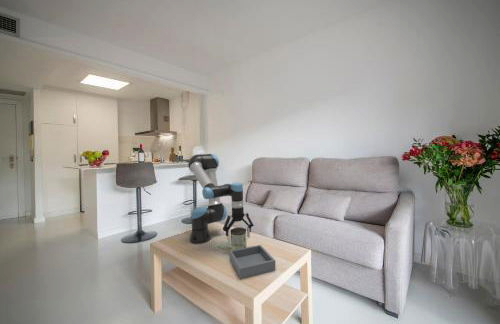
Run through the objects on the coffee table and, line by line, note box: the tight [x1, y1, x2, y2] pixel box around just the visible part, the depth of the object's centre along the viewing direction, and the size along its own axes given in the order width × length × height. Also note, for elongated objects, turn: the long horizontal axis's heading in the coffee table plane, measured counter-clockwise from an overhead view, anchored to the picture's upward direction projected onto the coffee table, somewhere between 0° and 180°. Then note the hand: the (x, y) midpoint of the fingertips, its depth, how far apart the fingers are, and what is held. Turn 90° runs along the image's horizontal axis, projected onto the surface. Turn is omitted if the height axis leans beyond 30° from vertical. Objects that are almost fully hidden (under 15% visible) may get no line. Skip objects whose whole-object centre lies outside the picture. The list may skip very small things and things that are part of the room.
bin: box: [229, 244, 276, 280], centre depth 122 cm, size 20×20×6 cm
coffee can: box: [229, 227, 247, 251], centre depth 138 cm, size 10×10×14 cm
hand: (238, 239), depth 137 cm, fingers open, 13 cm apart
